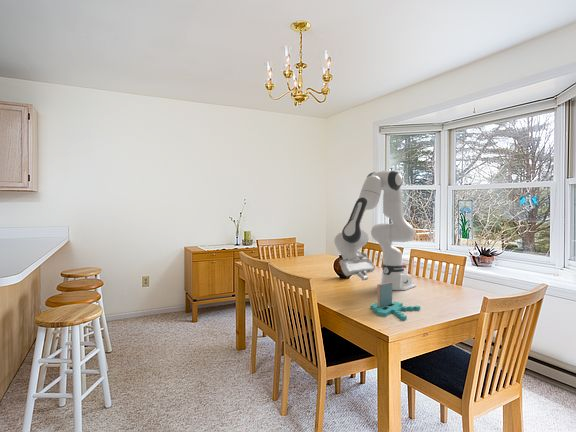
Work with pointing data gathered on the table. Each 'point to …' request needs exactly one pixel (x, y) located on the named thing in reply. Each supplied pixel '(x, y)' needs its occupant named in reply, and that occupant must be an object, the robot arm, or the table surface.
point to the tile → (384, 294)
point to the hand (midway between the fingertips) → (365, 279)
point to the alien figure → (393, 309)
